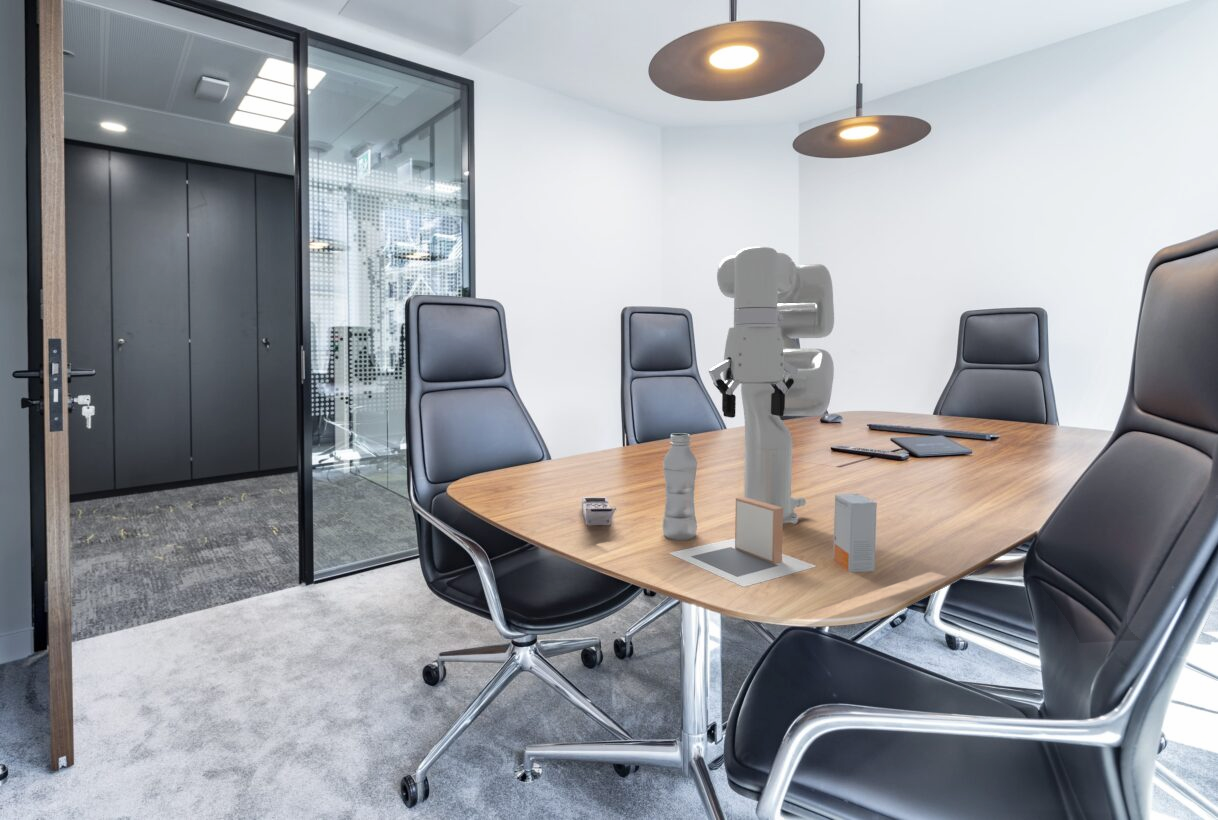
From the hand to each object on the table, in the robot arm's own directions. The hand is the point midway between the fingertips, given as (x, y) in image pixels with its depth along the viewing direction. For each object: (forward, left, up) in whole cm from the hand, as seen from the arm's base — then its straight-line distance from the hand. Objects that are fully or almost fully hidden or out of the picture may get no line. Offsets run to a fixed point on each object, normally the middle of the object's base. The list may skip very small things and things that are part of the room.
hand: (753, 416), depth 110 cm
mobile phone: (+15, -30, -24) cm, 41 cm away
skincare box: (-4, +19, -24) cm, 31 cm away
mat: (+9, +7, -24) cm, 26 cm away
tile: (+5, +7, -23) cm, 24 cm away
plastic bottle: (+9, -9, -24) cm, 27 cm away
